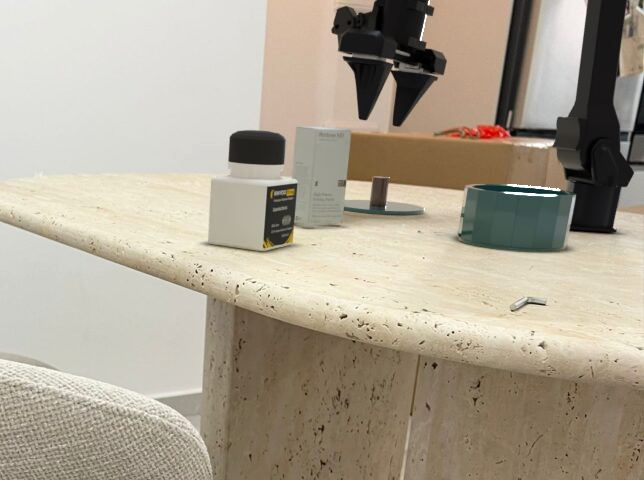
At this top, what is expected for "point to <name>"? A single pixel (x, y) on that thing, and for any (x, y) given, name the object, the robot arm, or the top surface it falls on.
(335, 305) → the top surface
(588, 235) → the top surface
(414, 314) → the top surface
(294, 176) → the cosmetic box
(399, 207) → the lid
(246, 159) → the medicine bottle
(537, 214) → the tin
